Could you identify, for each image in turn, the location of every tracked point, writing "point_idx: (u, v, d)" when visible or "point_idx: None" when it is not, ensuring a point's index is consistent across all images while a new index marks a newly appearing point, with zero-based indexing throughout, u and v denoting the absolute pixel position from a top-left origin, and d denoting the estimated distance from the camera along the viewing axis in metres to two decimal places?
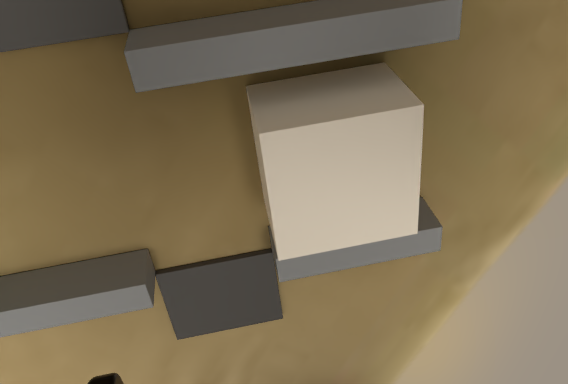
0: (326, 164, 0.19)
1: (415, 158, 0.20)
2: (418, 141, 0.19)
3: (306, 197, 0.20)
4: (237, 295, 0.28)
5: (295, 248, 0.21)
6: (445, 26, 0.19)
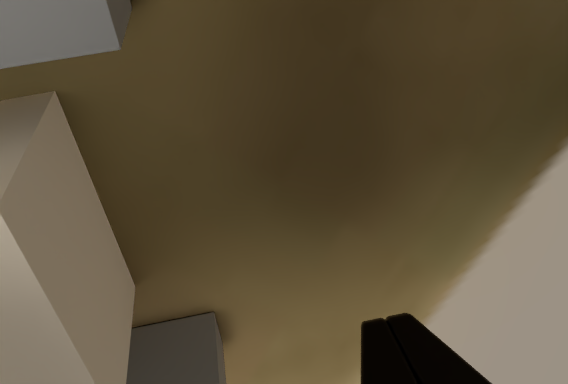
0: None
1: (40, 312, 0.09)
2: (27, 282, 0.08)
3: None
4: None
5: None
6: (73, 20, 0.08)
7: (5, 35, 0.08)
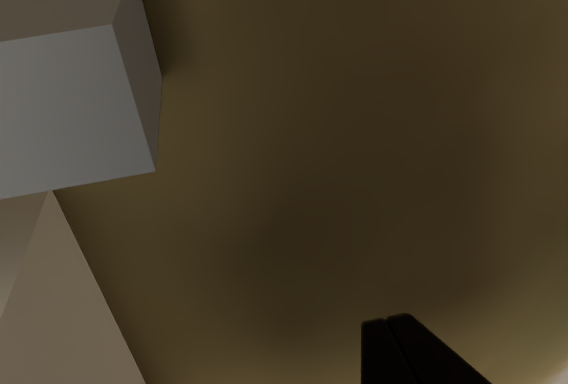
0: None
1: None
2: None
3: None
4: None
5: None
6: (80, 132, 0.05)
7: None
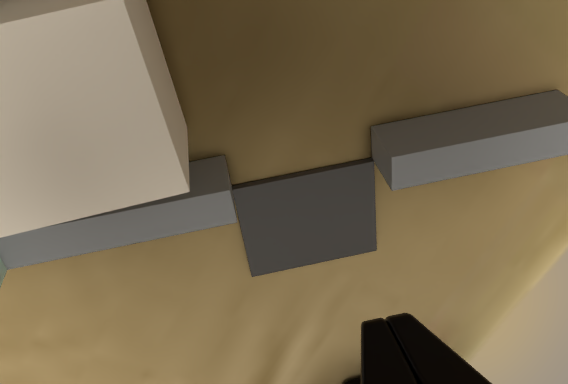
0: (6, 95, 0.14)
1: (142, 81, 0.14)
2: (136, 55, 0.14)
3: None
4: (326, 219, 0.23)
5: (16, 220, 0.16)
6: None
7: None
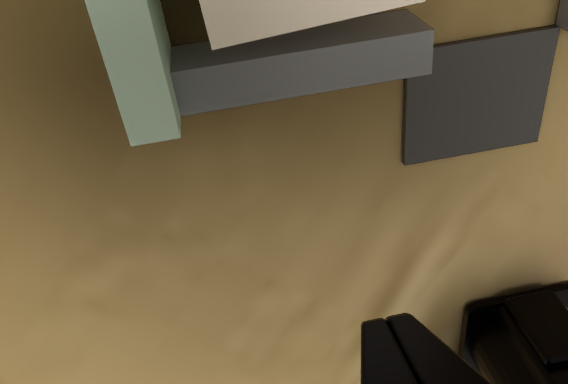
0: None
1: None
2: None
3: None
4: (496, 97, 0.21)
5: (236, 26, 0.14)
6: None
7: None
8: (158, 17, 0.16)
